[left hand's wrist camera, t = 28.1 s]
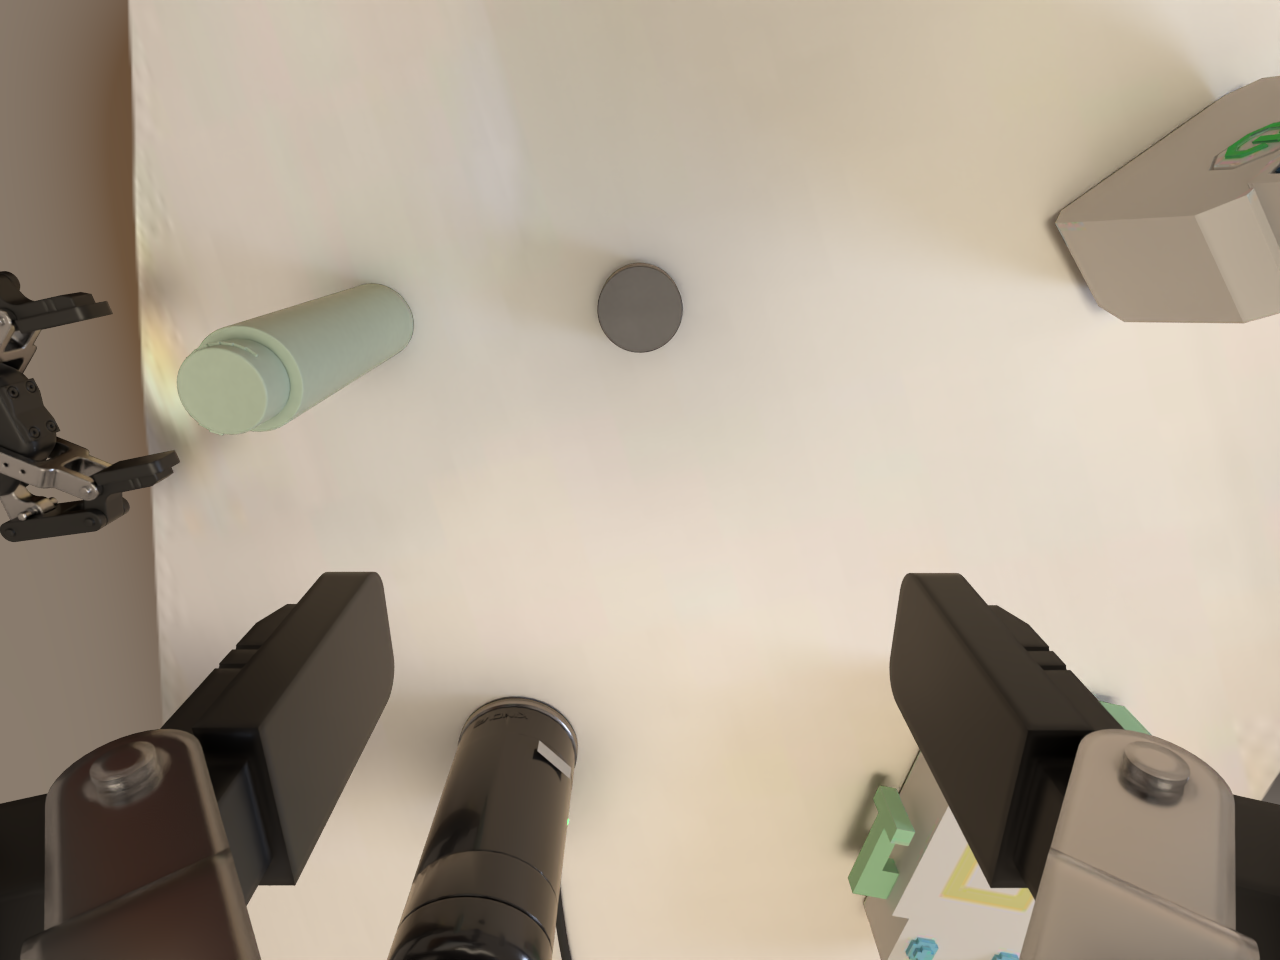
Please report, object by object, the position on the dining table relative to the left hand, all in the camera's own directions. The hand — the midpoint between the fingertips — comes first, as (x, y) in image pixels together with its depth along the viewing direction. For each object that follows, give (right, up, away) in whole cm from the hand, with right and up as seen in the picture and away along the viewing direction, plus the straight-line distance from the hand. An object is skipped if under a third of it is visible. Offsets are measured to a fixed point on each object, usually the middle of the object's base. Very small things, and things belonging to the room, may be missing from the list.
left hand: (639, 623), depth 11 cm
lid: (0, +13, +33) cm, 35 cm away
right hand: (-27, +7, +28) cm, 40 cm away
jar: (-17, +12, +35) cm, 41 cm away
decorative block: (+28, -25, +49) cm, 62 cm away
